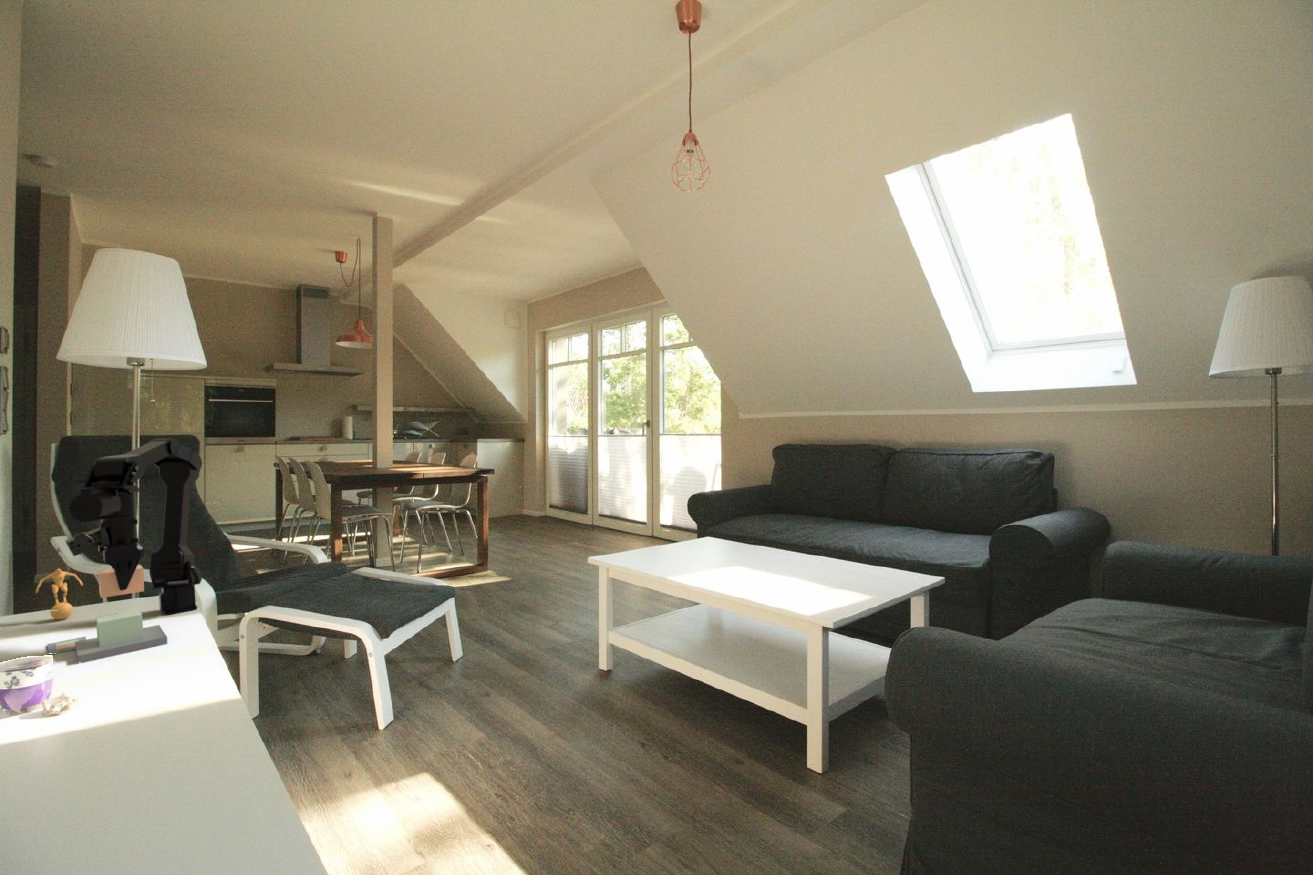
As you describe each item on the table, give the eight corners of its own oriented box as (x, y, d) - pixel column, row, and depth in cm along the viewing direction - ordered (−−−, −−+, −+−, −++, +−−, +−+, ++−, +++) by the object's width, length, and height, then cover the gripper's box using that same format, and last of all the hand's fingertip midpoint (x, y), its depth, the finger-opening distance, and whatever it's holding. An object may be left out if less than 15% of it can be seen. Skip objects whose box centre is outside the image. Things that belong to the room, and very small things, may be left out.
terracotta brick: (141, 587, 141) (140, 564, 141) (144, 591, 138) (143, 568, 137) (99, 593, 136) (98, 570, 136) (101, 597, 133) (100, 574, 133)
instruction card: (85, 637, 140) (85, 635, 140) (88, 646, 134) (87, 645, 134) (47, 645, 135) (47, 643, 135) (48, 655, 130) (48, 653, 130)
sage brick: (140, 632, 138) (138, 609, 138) (143, 637, 135) (142, 614, 134) (97, 640, 133) (96, 617, 133) (99, 646, 130) (98, 622, 129)
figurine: (39, 625, 149) (35, 574, 148) (36, 620, 153) (33, 570, 152) (86, 616, 155) (83, 567, 154) (83, 611, 159) (79, 563, 158)
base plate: (159, 631, 143) (159, 624, 143) (167, 643, 135) (167, 636, 135) (75, 649, 133) (74, 641, 133) (78, 663, 125) (78, 655, 125)
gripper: (66, 516, 138) (69, 587, 138) (69, 524, 124) (73, 603, 125) (132, 510, 145) (135, 578, 146) (142, 517, 132) (145, 592, 132)
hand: (122, 587), depth 137 cm, fingers closed on terracotta brick, 5 cm apart
